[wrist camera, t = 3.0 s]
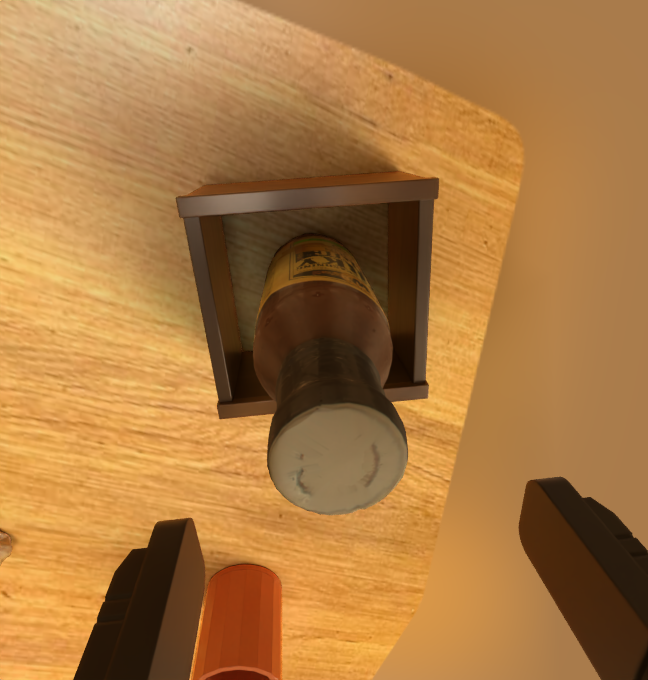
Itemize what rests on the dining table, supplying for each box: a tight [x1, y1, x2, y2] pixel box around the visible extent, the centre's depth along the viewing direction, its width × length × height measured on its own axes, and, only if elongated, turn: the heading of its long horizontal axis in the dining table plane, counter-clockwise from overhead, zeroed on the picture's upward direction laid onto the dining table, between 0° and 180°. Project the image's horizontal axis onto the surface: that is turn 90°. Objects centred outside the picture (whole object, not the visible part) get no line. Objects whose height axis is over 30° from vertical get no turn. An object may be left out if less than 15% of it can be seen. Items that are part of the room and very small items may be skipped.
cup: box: [191, 564, 282, 680], centre depth 39 cm, size 7×7×9 cm
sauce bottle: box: [253, 234, 408, 515], centre depth 21 cm, size 6×6×20 cm
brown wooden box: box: [176, 171, 439, 419], centre depth 27 cm, size 13×13×7 cm
